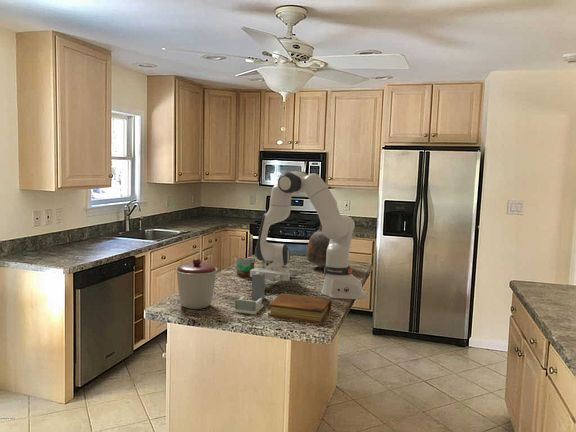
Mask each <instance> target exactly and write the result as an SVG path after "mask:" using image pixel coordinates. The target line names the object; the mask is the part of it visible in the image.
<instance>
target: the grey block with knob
mask: <svg viewBox="0 0 576 432" xmlns="http://www.w3.org/2000/svg"><path fill="white" fill-rule="evenodd" d="M265 281H266V279H265V273H260V272H256V273H254V274H253V275H252V277H251V300H252V301H257V300H258V299H259V298H262V301H263V300H265V287H266V286H265V284H266V283H265Z"/></svg>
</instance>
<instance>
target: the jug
mask: <svg viewBox="0 0 576 432" xmlns="http://www.w3.org/2000/svg"><path fill="white" fill-rule="evenodd" d="M329 242H330V239H328V238H326V237H325V236H324V234H323V232H322V225H321V222H319V227H318V230H317V231H315V232H313V234H312V235H311V236H310V238H309V240H308V242H307V243H308V244H307V245H306V246H307V248H306V259H307V261H308V262H309V263H311V264H314V265H316V266H318V267H319V268H321V269H323V270H325V265H326V252H327V247H328V245H329Z"/></svg>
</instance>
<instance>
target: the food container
mask: <svg viewBox="0 0 576 432" xmlns="http://www.w3.org/2000/svg"><path fill="white" fill-rule="evenodd" d="M234 262H235V264H236V265H235V266H236V276H238V277H241V276H242V278H245V277H250V270H252V269H254V268H255V267H254V266H255V263H256V259H255V258H251V259H250V258H245V257H244V258H240V257H238V256H236V257H235V259H234ZM250 278H251V277H250Z"/></svg>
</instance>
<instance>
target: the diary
mask: <svg viewBox="0 0 576 432" xmlns="http://www.w3.org/2000/svg"><path fill="white" fill-rule="evenodd" d="M268 307H270V312H269V313H268V314H267V315H268V317H272V318H273V317H274V318H281V319H289V320H290V319H291V320H295V321H296V320H297V321H304V322H310V323H311V322H312V323H318V324H322V323H323V322H324V321H325V319H326V318H327V316H328V315H329V313H330V312H331V311H332V310H331V309H332V298H324V297H318V296H317V297H316V296H307V295H298V294H289V293H280V294H279V295H277V296H276V297H275V298H274V299H273V300H272V301H270V303H268Z"/></svg>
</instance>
